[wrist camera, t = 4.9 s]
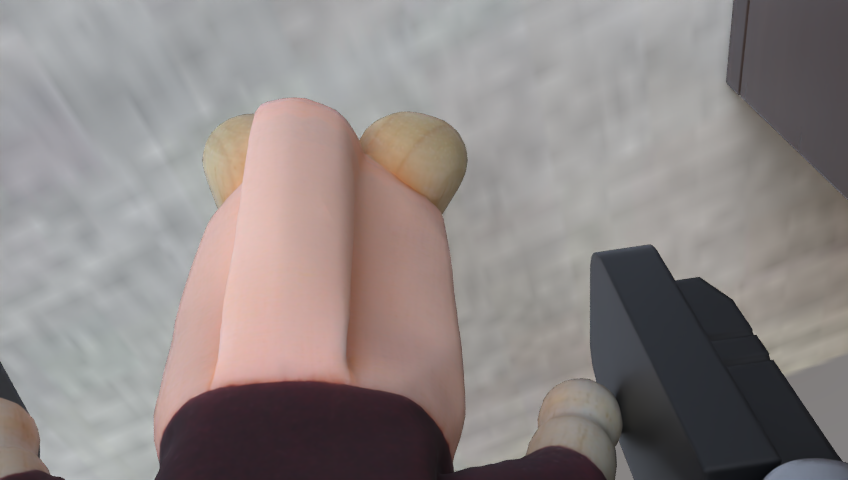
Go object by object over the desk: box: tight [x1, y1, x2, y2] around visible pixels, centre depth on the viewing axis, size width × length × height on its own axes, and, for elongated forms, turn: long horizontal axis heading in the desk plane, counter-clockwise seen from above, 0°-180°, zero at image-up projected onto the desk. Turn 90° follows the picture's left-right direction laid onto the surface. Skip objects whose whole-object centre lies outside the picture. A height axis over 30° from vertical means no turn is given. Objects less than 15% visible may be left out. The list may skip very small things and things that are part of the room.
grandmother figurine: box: [0, 98, 623, 480], centre depth 9 cm, size 8×4×13 cm, turn 97°
